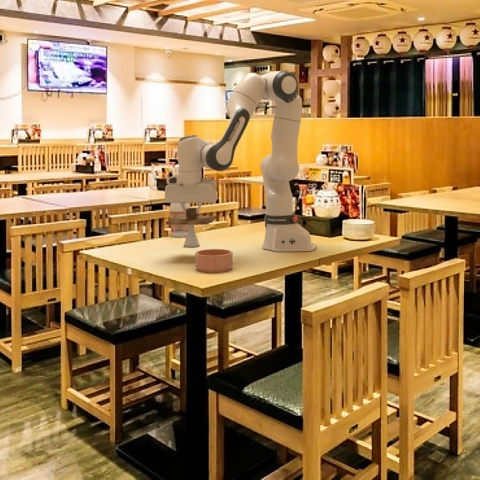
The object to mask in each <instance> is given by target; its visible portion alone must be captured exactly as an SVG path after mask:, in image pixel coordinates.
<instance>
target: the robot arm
mask: <svg viewBox="0 0 480 480" xmlns="http://www.w3.org/2000/svg"><path fill="white" fill-rule="evenodd" d="M262 100H265V101H266V100H271V101H274V103H275V104H274V105H275V110H274V116H273V121H272V127H271V132H270V133H271V134H270V140H271V153H269V154H268V155H266V156H265V157H263V158H262V160H261V162H260V166H259V167H260V172H261V174H262V181H263V186H264V192H265V214H264V227H265V233H264V240H263V242H262V243H263V244H262V249H264V250H267V251H272V252H280V253H281V252H312V251H315V250H317V244H316V243H314V242H313V243H312V237H311V234H310V232H309V231H308V230H307V229H305V228H304V227H303V226H301V225H300V224H299V222H298V218H299V217H298V215H296V214H294V212H293V210H294V209H293V206H294V205H293V200H294V199H293V193H292V191H291V186H290V181H292V180H294V179H295V178H296V177H297V176H298V175H299V171H300V166H299V162H298V141H299V134H300V128H301V123H302V122H301V121H302V115H303V100H302V97H301V96H300V95H299V82H298V79H297V77H296V75H295V74H294V73H292V72H290V71H286V70H277V71H276V70H274V71H271V72H263V73H261V74H258V73H257V72H256V73H255V72H249V73H247V74H245V75H244V77H242V79H241V80H240V81H239V82H238V84H237V85H236V86H235V88H234V89H233V91H232V92H231V94H230V96H229V98H228V100H227V101H226V105H225V110H226V113H227V115H228V116H229V123H228V125H227V128H226V129H225V131H224V133H223V134H222V137H221V139H220V140H219V141H217V142H216V143H212V142H209V141H208V140H204V139H203V138H201V137H199V136H198V135H197V134H192V135H186V136H182V137H181V138H180V139H179V140H178V142H177V162H178V169H177V170H178V172H177V174H175V175H173V176H170V177H168V178H167V179H166V181H165V182H166V184H167V185H166V186H165V189H164V201H165V202H166V203H167V204H171V203H180V206H181V207H182V209H183V210H184V214H186V208H185V206H184V205H185V203H189V204H192V203H194V204H195V203H196V204H197V207H196V208H197V209H196V210H195V214H197V215H200V210H201V208H202V206H203V203H206V204H207V203H210V204H211V203H216V201H218V194H217V193H218V192H217V187H218V185H217V184H218V182H217V180H216V179H214V178H212V177H210V178H208V177H207V178H206V177H204V178H203V177H202V168H206V169H210V170H214V171H217V172H223V171H226V170H227V169H228V170H229V168H230V167H231V166H232V164H233V162H234V158H235V157H234V156H235V152H236V149H237V146H238V144H239V143H240V140H241V139H242V136H243V134H244V133H245V131H246V128H247V127H248V124H249V122H250V119H251V117H252V116H253V114H254V112H255V110H256V109H257V107H258V105H259V104H260V102H261V101H262Z"/></svg>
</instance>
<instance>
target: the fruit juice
mask: <svg viewBox="0 0 480 480" xmlns="http://www.w3.org/2000/svg"><path fill="white" fill-rule="evenodd" d="M169 204H170V205H169V215H170V219H169V220H171V219H173V218H175V217H177V216H186V214H184V210H183V209H182V207H181V206H180V203H169ZM184 206H185V208H186V209H188V208H191V203H185V205H184ZM187 233H188V225H170V235H171V237H173V238H186V236H187Z"/></svg>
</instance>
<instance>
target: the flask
mask: <svg viewBox="0 0 480 480" xmlns="http://www.w3.org/2000/svg"><path fill="white" fill-rule="evenodd" d="M183 247H186V248H196V247H197V248H198V247H201V246H200V242H199V240H198V237H197V234H196V230H195V225H188V233H187V236H186V237H185V239H184V243H183Z"/></svg>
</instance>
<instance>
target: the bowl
mask: <svg viewBox="0 0 480 480" xmlns="http://www.w3.org/2000/svg"><path fill="white" fill-rule="evenodd" d="M233 254H234V253H233V251H232V250H230V249H223V248H210V249H209V248H207V249H201V250H197V251H195V252H194V260H195V261H194V262H195V265H194V267H195V268H196V271H197V272H200V273H206V274H207V273H210V274H211V273H223V272H228V271H231V270H232V267H233V265H234V262H233V257H234V256H233Z"/></svg>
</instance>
